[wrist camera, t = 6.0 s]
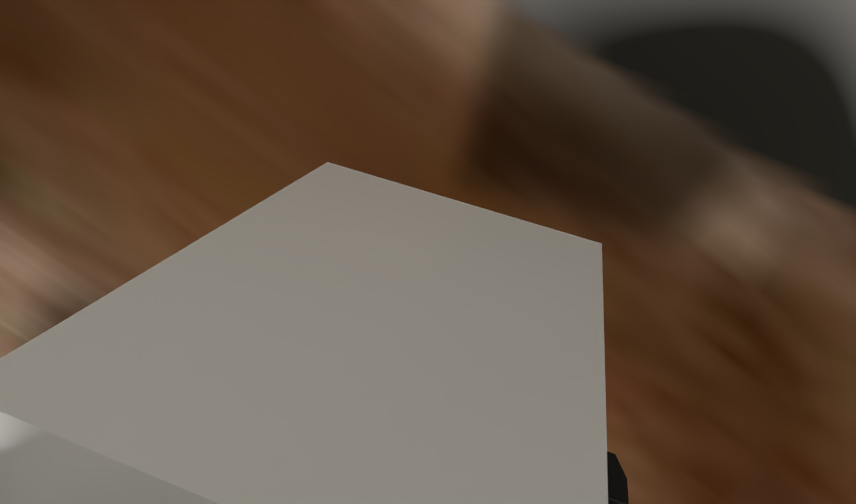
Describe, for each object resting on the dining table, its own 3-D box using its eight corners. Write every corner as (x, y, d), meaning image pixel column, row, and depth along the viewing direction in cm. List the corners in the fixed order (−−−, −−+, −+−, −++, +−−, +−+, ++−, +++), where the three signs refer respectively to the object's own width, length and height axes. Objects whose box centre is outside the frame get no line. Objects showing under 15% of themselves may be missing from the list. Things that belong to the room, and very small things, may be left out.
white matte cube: (327, 162, 13) (-52, 389, 5) (601, 243, 12) (612, 670, 4) (304, 371, 16) (44, 699, 9) (519, 449, 15) (441, 905, 8)
